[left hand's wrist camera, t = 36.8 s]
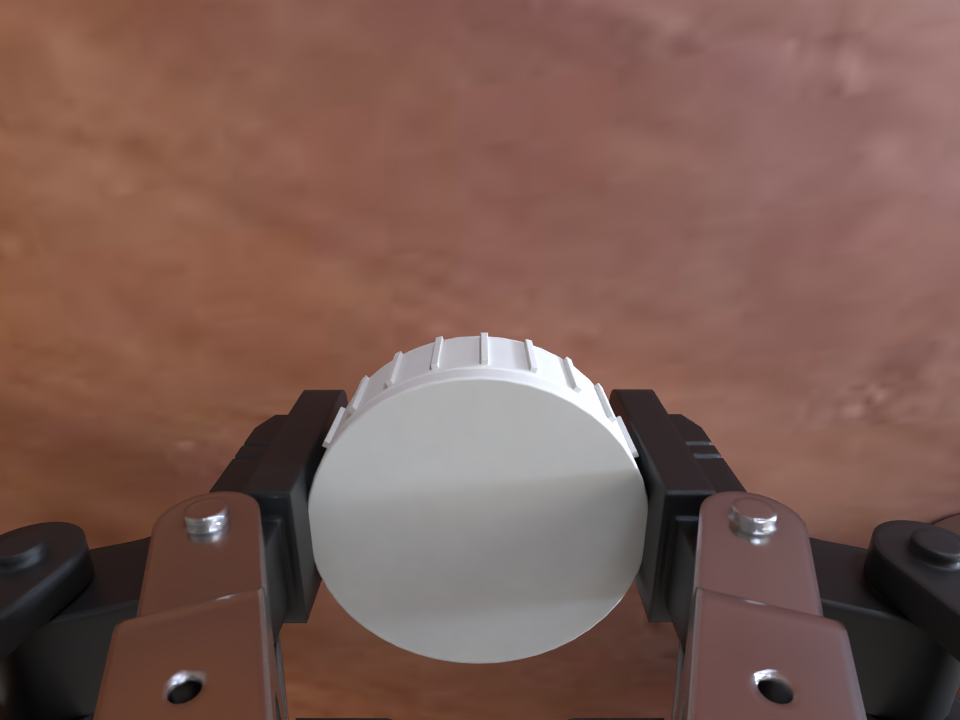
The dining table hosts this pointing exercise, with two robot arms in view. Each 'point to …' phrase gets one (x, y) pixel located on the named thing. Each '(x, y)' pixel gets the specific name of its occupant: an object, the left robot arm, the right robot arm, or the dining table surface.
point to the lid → (478, 502)
